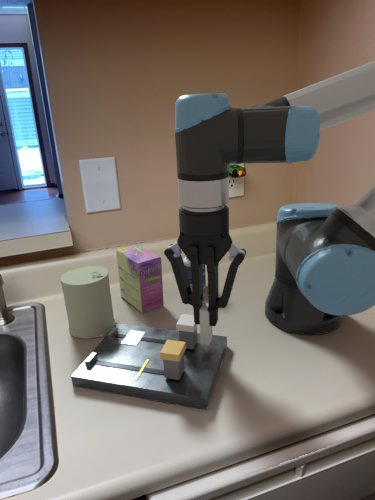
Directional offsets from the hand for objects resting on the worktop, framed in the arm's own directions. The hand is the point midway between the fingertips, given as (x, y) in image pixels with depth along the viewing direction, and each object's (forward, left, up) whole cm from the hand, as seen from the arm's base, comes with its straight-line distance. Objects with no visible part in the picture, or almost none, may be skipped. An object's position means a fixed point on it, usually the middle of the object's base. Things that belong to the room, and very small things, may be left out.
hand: (206, 340), depth 65 cm
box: (+19, -17, -4) cm, 26 cm away
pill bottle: (+9, -26, -4) cm, 28 cm away
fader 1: (+3, +8, -1) cm, 9 cm away
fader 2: (+3, 0, -1) cm, 3 cm away
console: (+8, +4, -4) cm, 10 cm away
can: (+25, -5, -4) cm, 26 cm away
